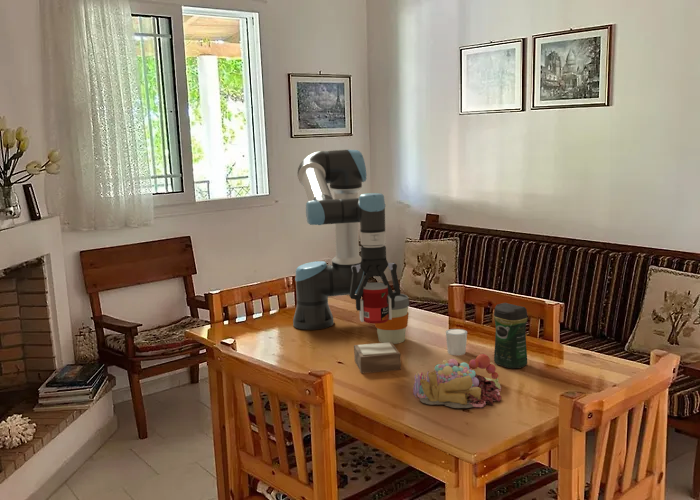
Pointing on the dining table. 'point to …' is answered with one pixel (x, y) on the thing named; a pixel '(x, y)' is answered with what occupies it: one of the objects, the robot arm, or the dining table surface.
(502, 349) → the coffee jar
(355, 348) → the base
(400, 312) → the reusable coffee cup
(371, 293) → the canned food
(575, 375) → the dining table surface
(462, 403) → the candy landscape model
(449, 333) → the shot glass
